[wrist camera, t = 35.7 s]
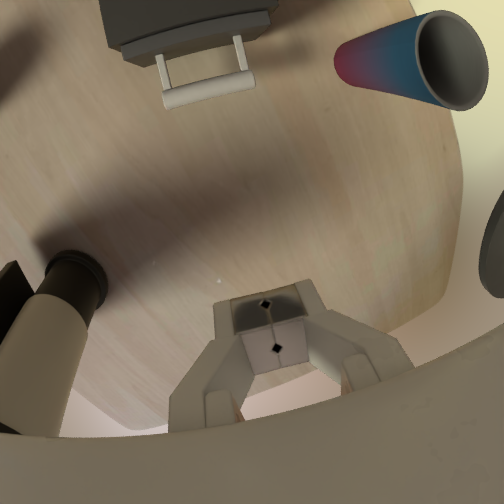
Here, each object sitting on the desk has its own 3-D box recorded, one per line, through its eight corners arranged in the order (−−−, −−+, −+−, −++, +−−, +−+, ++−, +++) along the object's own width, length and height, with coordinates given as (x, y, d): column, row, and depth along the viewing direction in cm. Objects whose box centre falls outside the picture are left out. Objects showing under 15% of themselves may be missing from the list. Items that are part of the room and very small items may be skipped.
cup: (387, 42, 26) (490, 34, 12) (381, 100, 29) (483, 122, 16) (327, 26, 24) (416, -7, 11) (322, 88, 28) (409, 95, 15)
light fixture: (126, 311, 37) (89, 505, 16) (59, 325, 37) (4, 487, 15) (84, 226, 31) (-28, 422, 10) (16, 251, 31) (-90, 409, 9)
